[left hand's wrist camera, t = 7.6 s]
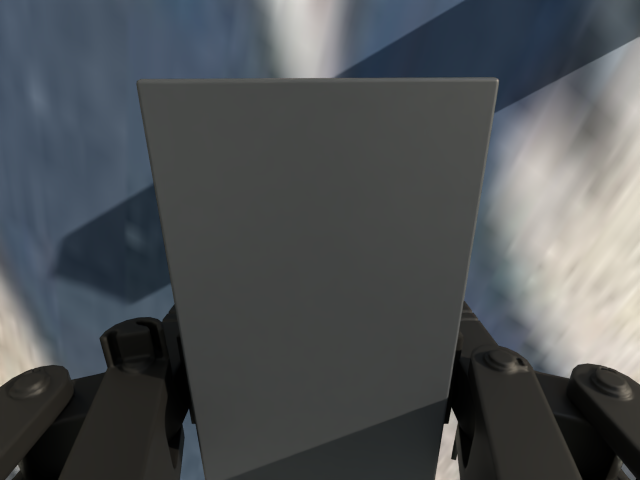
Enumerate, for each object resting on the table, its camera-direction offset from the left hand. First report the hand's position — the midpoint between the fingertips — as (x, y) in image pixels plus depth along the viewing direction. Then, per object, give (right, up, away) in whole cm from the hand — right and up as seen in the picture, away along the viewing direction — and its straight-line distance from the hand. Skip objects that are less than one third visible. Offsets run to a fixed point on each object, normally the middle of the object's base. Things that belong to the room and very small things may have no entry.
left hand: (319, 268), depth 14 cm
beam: (0, -22, +9) cm, 23 cm away
